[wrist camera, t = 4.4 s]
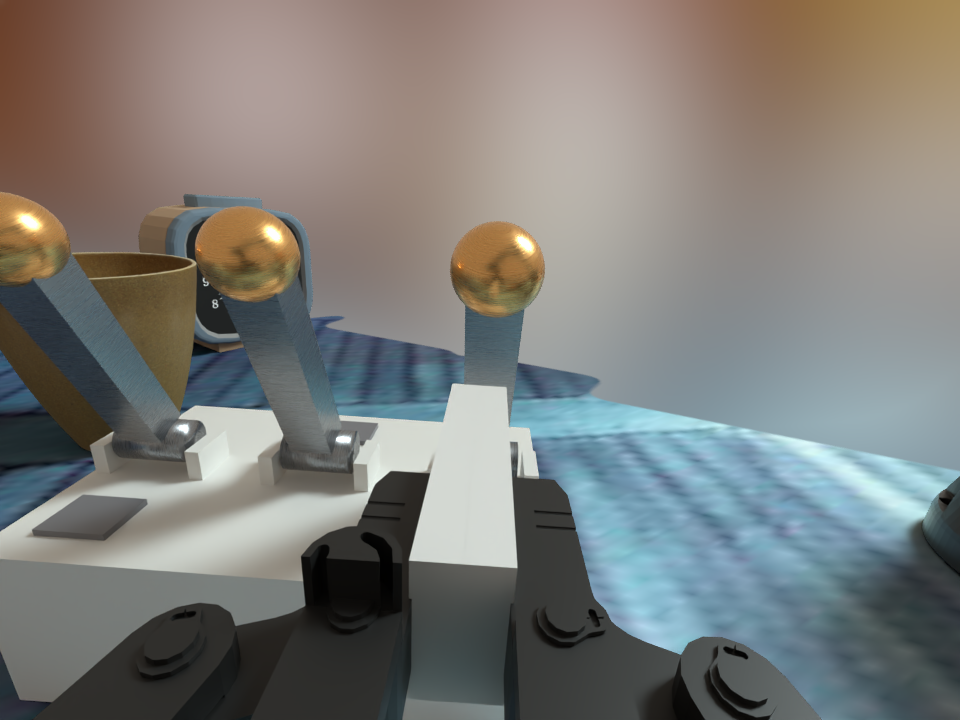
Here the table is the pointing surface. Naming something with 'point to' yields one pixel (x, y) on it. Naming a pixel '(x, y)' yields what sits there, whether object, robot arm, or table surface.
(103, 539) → the switch box
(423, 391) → the table surface
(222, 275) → the lever middle
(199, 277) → the alarm clock
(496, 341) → the lever
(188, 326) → the plant pot
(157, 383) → the lever
